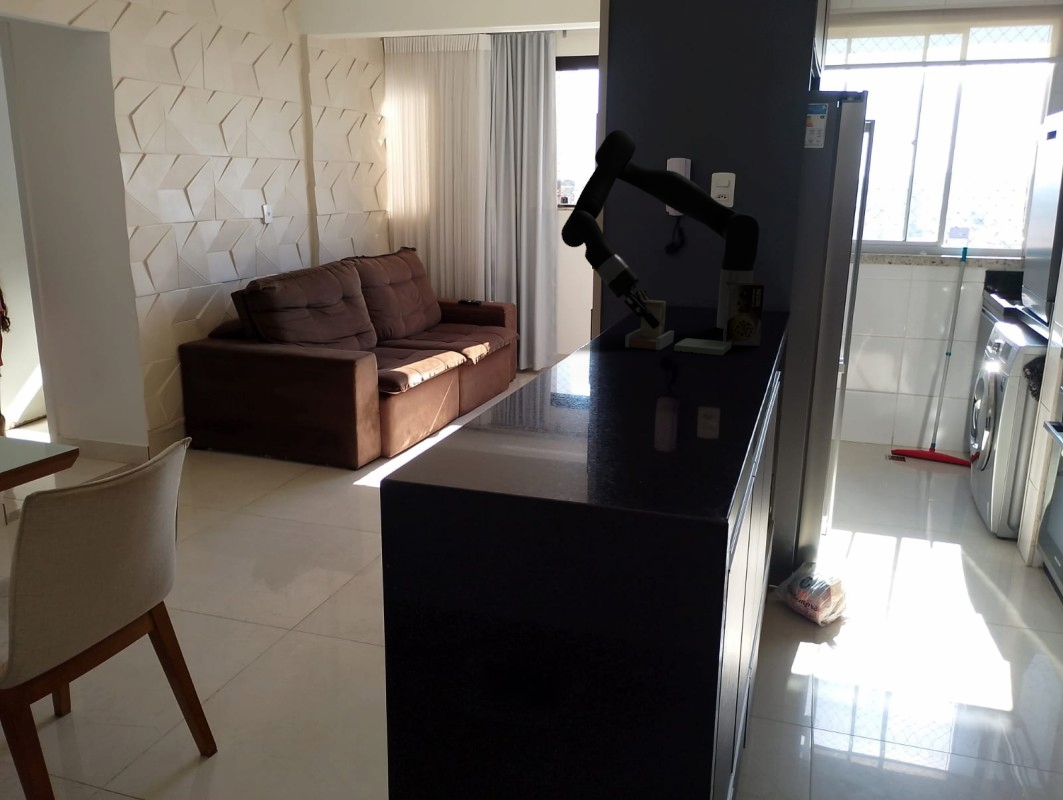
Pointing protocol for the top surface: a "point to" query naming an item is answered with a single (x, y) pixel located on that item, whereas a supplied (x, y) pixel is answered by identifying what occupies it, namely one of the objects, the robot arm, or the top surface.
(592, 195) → the robot arm
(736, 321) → the coffee box
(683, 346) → the pad
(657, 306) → the birch block
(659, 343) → the grey frame
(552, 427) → the top surface
